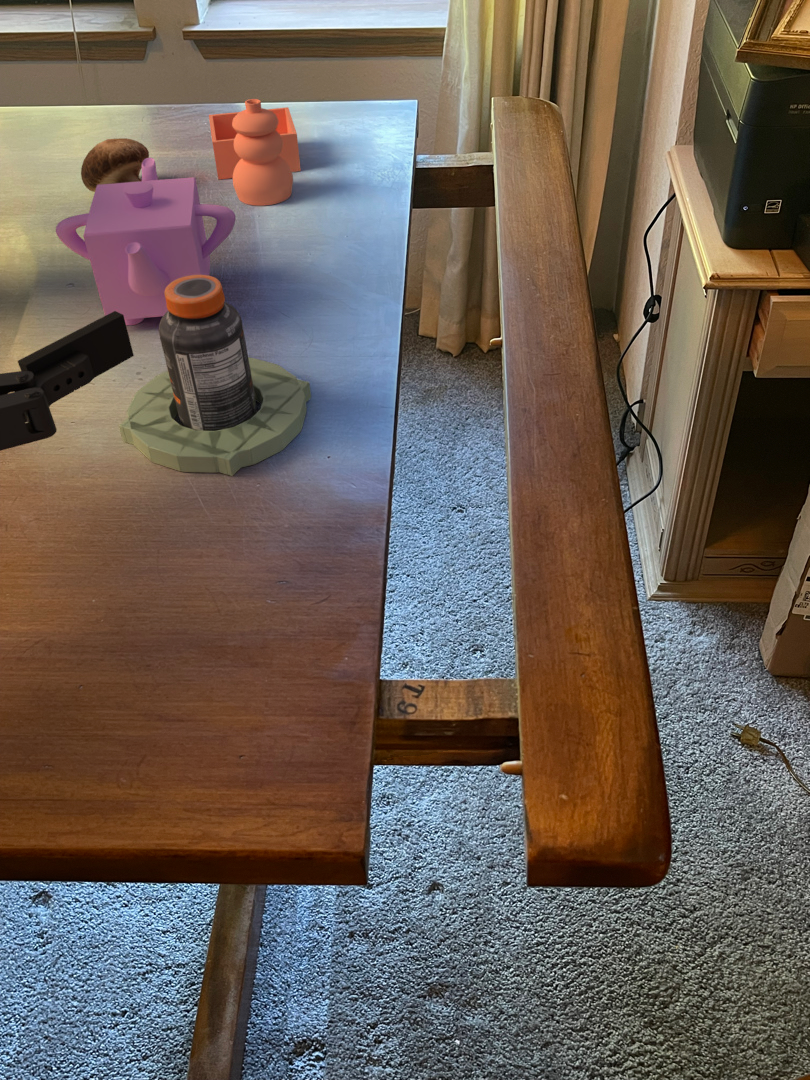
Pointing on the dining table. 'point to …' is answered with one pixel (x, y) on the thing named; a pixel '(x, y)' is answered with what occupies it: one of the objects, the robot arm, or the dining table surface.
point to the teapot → (145, 240)
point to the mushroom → (113, 162)
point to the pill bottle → (206, 355)
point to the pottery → (256, 152)
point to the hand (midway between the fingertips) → (54, 298)
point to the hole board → (221, 448)
